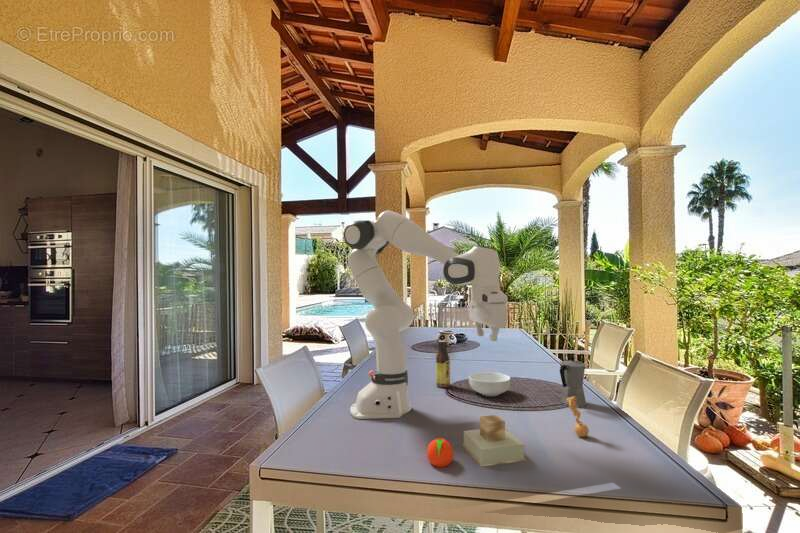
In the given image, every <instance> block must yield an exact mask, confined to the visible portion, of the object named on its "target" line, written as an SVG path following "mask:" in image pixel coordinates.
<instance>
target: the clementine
mask: <svg viewBox="0 0 800 533" xmlns="http://www.w3.org/2000/svg"><path fill="white" fill-rule="evenodd" d="M453 449H454V448H453V447H452V444H451V443H450V442H449V441H448V440H446V439H445V438H441V437H439V438H435V439H433V440H431V441H430V442H429V444H428V446H427V449H426V457H427V459H428V462H430V464H431V465H432V466H435V467H437V468H438V467H439V468H444V467H448V466H449V465H450V464H451V463H452V461H453V458H454V450H453Z"/></svg>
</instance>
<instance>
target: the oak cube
mask: <svg viewBox="0 0 800 533" xmlns="http://www.w3.org/2000/svg"><path fill="white" fill-rule="evenodd" d="M479 429H480V435H481V436H482V437H483V438H484V439H486V440H487V441H488V442H493V441H501V440H505V430H506V421H505V420H503V418H501V417H500V416H498V415H497V414H491V415H483V416H482V415H481V416H479Z"/></svg>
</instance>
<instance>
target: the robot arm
mask: <svg viewBox="0 0 800 533" xmlns="http://www.w3.org/2000/svg"><path fill="white" fill-rule="evenodd" d="M343 240H344V242H345V244H346V245H347V246H348V247H349V248H352V250H351V251H350V252H349V253H348V255H347V262H348V266H349V270H350V273H351V275H352V277H353V280H354V281H355V283H356V285H357V287H358V290H359V291H360V293H361V295H362V297H363V299H364V300H365V301H367V302H369V304H371V306H373V307H374V308H372V309H371V310H369V311H368V312H367V313H366V316H365V320H364V325H365V328H366V330H367V331H368V332H369V334H370V335H371V337H372V340H373V343H374V347H375V352H376V356H375V357H376V359H375V360H376V370H375V371H374V370H369V372H368V375H369V377H370V378H371V379H370V380H371V381H370V382H369V383H368V384H366V385H365V386H364V387H363V388H362V389H360V390H359V392H358V393H357V396H356V399H355V400H356V401H355V403H352V405H350V410H349V411H350V415H351V416H352V417H353V418H355V419H358V420H365V419H366V420H368V419H370V420H371V419H396V418H397V419H398V418H401V417H402V416H403V415H404V414H407V413H409V412H410V411H411V410H412V406H411V402H410V398H409V397H410V396H409V390H408V385H409V384H408V383H409V374H408V370H407V349H406V347H405V346H404V345H403V342H402V338H401V332H403V331H404V330H406V329H407V328H409V327H410V326H411V325H412V324H413V322H414V319H415V313H414V310H413V308H412V307H411V306H410V305H409V304H407V303H406V302H405V301H403V299H402V297H401V296H400V295H399V294H398V293H397V292H396V291H395V289H394V288H393V287H392V285H391V284H390V282H389V281H388V279H387V277H386V275H385V273H384V272H383V270H382V267H381V265H380V264H379V262H378V260H377V257H376V256H377V255H379V254H381V253H382V252H383V251H384V249H386V247H387V246H389V244H391V245H393V246H394V247H395V248H397V249H398V250H401V251H403V252H406V253H408V254H411V255H418V256H423V257H427V258H431V259H433V260H435V261H437V262H439V263H440V264H442V265H443V269H442V274H443V277H444V279H445V281H446V282H447V283H449V284H451V285H454V286H465V285H466V286H471V294H472V295H471V296H472V297H471V300H470V301H469V308H468V309H469V310H468V311H469V312H468V318H469V320H470V321H471V322H474V326H475V329H476V336H478V337H484V335H485V334H484V330H483V325H484V326H487V327H488V326H489V327H490V330H491V334H489V341H491V342H497V341H498V335H499V332H500V329H504V328H506V326H507V324H508V306H507V303H508V301H509V298H508V295H507V294H506V293H504V292H503V291H502V290H501V284H500V281H499V278H500V273H501V272H500V271H501V270H500V259H499V258H500V257H499V253H498V251H497V249H496V248H494V247H491V246H486V245H474V246H472V248H470V250H468V251H465V252H464V253H458V252H457V251H455V250H454V249H451V248H450V247H449V246H446V244H443V243H442V242H440V241H438V239H436V238H434V237H433V236H432V235H431V234H430V233H428V232H427V231H426V230H425V229H423V227H422V226H419V224H417V223H416V222H414V221H413V220H411V219H409V218H408V217H406V216H405V215H402V214H400V213H399V212H395V211H392V210H384V211H382V212H380V214H379V215H378V216H377V218H376V220H374V221H373V220H368V219H367V220H363V219H362V220H361V219H360V220H354V221H351V222H350V223H348V224H347V225H346V226H345V228H344V230H343Z"/></svg>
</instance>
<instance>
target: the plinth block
mask: <svg viewBox="0 0 800 533" xmlns="http://www.w3.org/2000/svg"><path fill="white" fill-rule="evenodd" d="M463 444H464V446H465V447H466V448H467V449H468V450H469V451H470V452H471V453H472V455H473V456H474V457H475V458H476V459H477V460H478V461H479V462H480V463H481V464H482V465H488V464H495V463H502V462H509V461H516V460H523V459H524V458H525V444H524V442H522V441H520V439H518V438H517V437H516V436H514V434H512V433H511V432H509V430H507V429H505V440H501V441H493V442H488V441H487V440H486V439H484V438H483V437H482V436H481V435H480V428H477V429H470V430H463Z"/></svg>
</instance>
